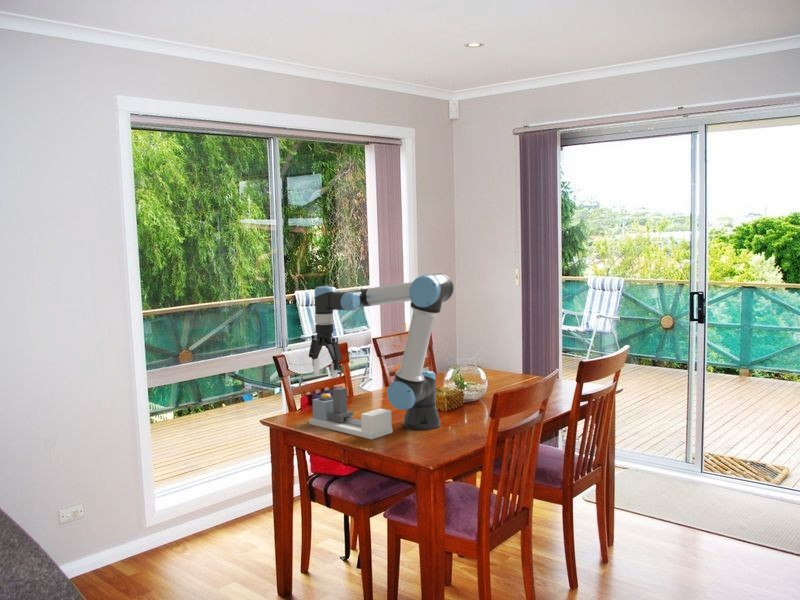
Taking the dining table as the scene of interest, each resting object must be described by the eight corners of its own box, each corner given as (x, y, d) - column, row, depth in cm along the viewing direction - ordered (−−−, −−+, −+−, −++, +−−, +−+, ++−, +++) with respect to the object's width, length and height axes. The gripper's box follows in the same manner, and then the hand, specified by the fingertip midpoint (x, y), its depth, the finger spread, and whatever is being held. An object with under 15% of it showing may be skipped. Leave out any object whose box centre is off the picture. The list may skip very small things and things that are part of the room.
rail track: (392, 432, 289) (392, 410, 288) (371, 439, 280) (371, 416, 279) (330, 418, 312) (330, 397, 311) (309, 423, 303) (309, 402, 302)
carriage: (353, 419, 300) (352, 387, 299) (339, 423, 294) (338, 391, 293) (341, 416, 305) (340, 385, 303) (327, 420, 299) (326, 388, 297)
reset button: (333, 406, 305) (333, 394, 304) (325, 407, 302) (325, 396, 301) (326, 404, 307) (326, 393, 307) (319, 406, 304) (318, 394, 304)
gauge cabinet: (340, 417, 305) (339, 398, 305) (325, 421, 299) (325, 402, 299) (327, 414, 311) (326, 396, 310) (313, 418, 305) (312, 399, 304)
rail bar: (372, 427, 289) (372, 422, 288) (369, 428, 287) (369, 423, 287) (334, 418, 303) (334, 414, 303) (331, 419, 302) (331, 415, 301)
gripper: (350, 324, 296) (351, 377, 298) (312, 320, 311) (313, 371, 314) (336, 326, 291) (337, 380, 293) (299, 322, 306) (300, 374, 308)
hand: (325, 375), depth 303 cm, fingers open, 10 cm apart
